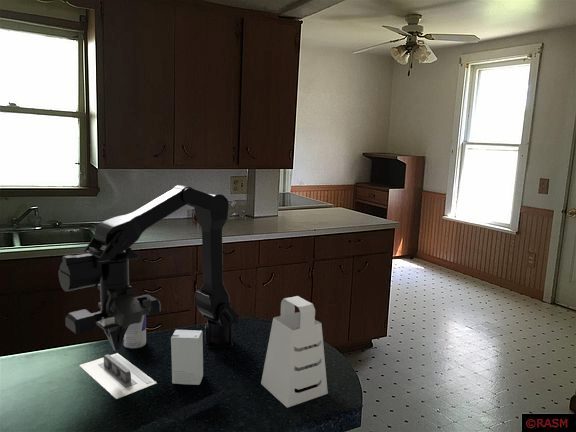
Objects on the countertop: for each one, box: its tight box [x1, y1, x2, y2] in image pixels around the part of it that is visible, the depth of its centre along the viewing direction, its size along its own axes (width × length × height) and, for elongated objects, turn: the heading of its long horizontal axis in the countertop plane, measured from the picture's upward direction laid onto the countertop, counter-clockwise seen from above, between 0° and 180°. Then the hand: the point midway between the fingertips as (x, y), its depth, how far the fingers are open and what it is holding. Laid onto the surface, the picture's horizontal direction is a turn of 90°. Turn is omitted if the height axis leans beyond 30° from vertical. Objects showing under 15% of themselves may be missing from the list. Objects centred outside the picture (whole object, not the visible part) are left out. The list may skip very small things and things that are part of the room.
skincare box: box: [170, 329, 204, 386], centre depth 99 cm, size 6×4×12 cm
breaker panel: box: [78, 352, 158, 400], centre depth 101 cm, size 9×18×2 cm, turn 46°
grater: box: [260, 295, 329, 408], centre depth 99 cm, size 10×10×20 cm
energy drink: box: [123, 314, 147, 349], centre depth 115 cm, size 5×5×12 cm
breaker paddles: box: [104, 353, 131, 384], centre depth 101 cm, size 1×10×2 cm, turn 46°
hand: (116, 350), depth 100 cm, fingers closed
